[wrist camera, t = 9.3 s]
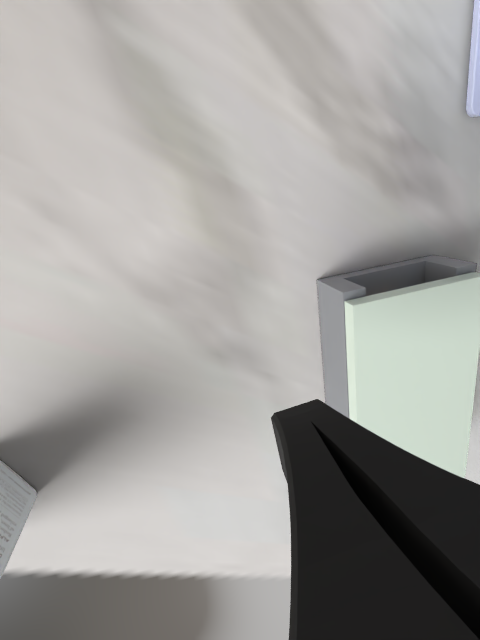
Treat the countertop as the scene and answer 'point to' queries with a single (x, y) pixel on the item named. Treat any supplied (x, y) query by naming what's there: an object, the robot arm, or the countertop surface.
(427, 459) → the cover
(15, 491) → the skincare box
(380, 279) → the grey open tray
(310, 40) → the countertop surface
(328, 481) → the robot arm
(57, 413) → the countertop surface
